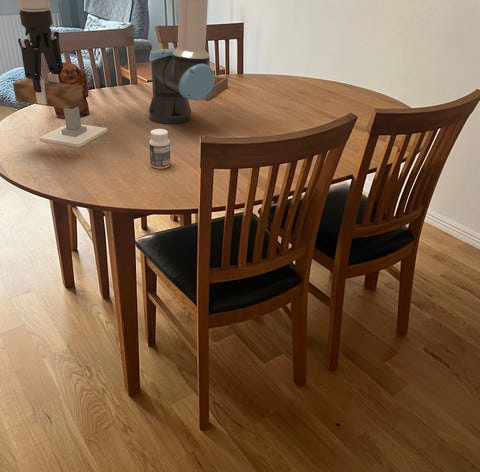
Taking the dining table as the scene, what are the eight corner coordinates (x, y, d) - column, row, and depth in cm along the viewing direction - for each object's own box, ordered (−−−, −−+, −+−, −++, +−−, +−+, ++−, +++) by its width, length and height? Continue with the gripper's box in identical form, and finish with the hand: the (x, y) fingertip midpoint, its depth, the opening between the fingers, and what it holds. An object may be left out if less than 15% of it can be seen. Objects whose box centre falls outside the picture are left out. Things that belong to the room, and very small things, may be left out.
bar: (83, 104, 140) (81, 85, 138) (72, 109, 136) (69, 90, 133) (29, 96, 145) (25, 78, 142) (16, 101, 140) (12, 82, 138)
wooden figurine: (62, 121, 172) (54, 66, 163) (53, 116, 176) (45, 63, 167) (93, 114, 180) (87, 62, 170) (84, 110, 183) (78, 58, 174)
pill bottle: (151, 161, 146) (149, 127, 141) (171, 161, 146) (170, 128, 141) (149, 169, 141) (147, 135, 136) (170, 169, 142) (169, 135, 136)
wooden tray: (227, 87, 218) (227, 77, 216) (208, 100, 200) (208, 90, 198) (195, 83, 222) (195, 73, 220) (173, 95, 204) (173, 85, 202)
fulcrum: (107, 131, 166) (105, 104, 161) (79, 147, 153) (75, 118, 148) (70, 125, 169) (67, 98, 165) (40, 140, 156) (35, 112, 151)
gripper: (45, 4, 137) (58, 90, 149) (-4, 12, 121) (15, 108, 133) (69, 6, 135) (80, 93, 147) (22, 15, 120) (39, 111, 132)
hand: (49, 100), depth 140 cm, fingers closed on bar, 5 cm apart
